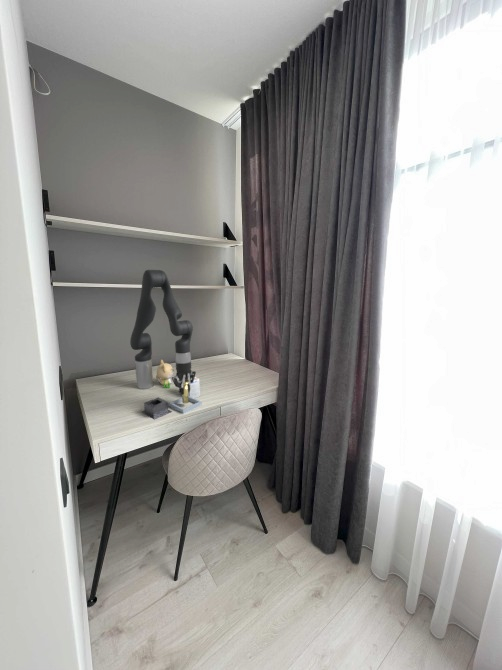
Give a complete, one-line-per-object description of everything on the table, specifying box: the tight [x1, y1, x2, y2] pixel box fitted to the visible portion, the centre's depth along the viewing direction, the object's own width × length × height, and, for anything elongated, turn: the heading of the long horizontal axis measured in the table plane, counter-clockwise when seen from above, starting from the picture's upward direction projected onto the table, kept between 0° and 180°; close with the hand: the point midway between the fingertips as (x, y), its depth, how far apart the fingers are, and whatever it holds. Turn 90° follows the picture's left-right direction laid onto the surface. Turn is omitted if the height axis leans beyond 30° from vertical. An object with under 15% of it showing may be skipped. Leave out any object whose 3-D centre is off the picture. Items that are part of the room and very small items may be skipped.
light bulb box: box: [180, 376, 201, 399], centre depth 154 cm, size 11×7×11 cm, turn 45°
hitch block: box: [141, 397, 173, 421], centre depth 133 cm, size 12×10×6 cm
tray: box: [168, 396, 202, 415], centre depth 140 cm, size 12×12×3 cm
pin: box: [180, 381, 190, 404], centre depth 138 cm, size 4×4×11 cm
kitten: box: [155, 359, 175, 389], centre depth 169 cm, size 15×10×15 cm
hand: (185, 392), depth 138 cm, fingers closed on pin, 3 cm apart
